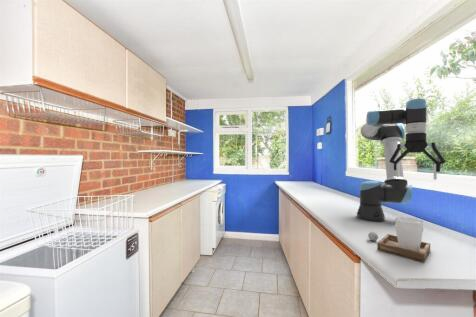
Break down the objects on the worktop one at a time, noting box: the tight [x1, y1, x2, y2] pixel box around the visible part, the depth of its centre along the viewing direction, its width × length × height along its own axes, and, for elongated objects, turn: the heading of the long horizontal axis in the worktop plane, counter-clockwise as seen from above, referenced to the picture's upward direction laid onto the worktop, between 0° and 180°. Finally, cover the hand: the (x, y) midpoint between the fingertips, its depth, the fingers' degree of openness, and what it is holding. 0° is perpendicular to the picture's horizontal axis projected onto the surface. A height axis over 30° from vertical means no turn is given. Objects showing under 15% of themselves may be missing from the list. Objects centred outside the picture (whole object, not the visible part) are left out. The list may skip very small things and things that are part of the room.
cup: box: [394, 216, 424, 252], centre depth 89 cm, size 9×9×12 cm
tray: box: [376, 233, 431, 263], centre depth 91 cm, size 15×15×3 cm
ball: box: [367, 231, 379, 242], centre depth 101 cm, size 4×4×4 cm
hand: (415, 178), depth 102 cm, fingers open, 13 cm apart
